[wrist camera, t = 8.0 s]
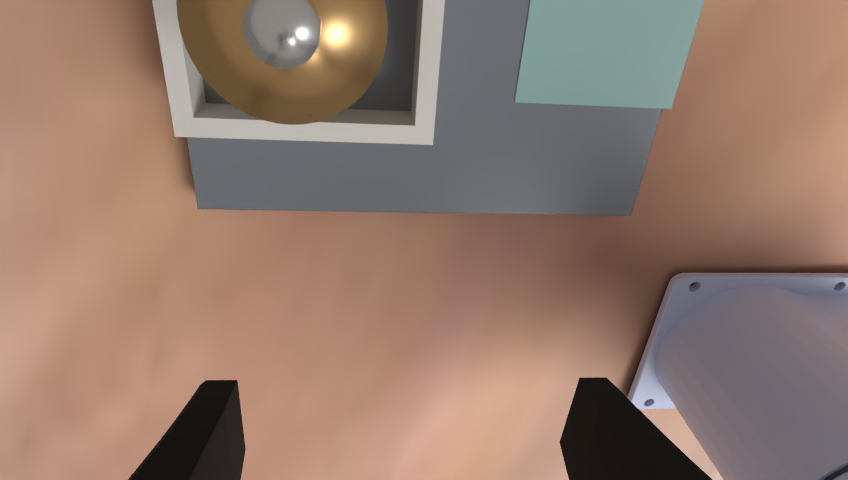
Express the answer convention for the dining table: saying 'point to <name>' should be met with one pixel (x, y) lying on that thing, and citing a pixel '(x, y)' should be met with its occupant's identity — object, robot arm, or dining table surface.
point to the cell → (286, 53)
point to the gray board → (456, 113)
